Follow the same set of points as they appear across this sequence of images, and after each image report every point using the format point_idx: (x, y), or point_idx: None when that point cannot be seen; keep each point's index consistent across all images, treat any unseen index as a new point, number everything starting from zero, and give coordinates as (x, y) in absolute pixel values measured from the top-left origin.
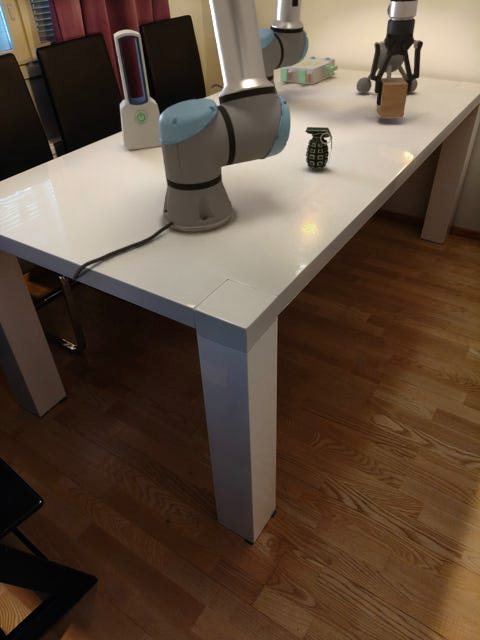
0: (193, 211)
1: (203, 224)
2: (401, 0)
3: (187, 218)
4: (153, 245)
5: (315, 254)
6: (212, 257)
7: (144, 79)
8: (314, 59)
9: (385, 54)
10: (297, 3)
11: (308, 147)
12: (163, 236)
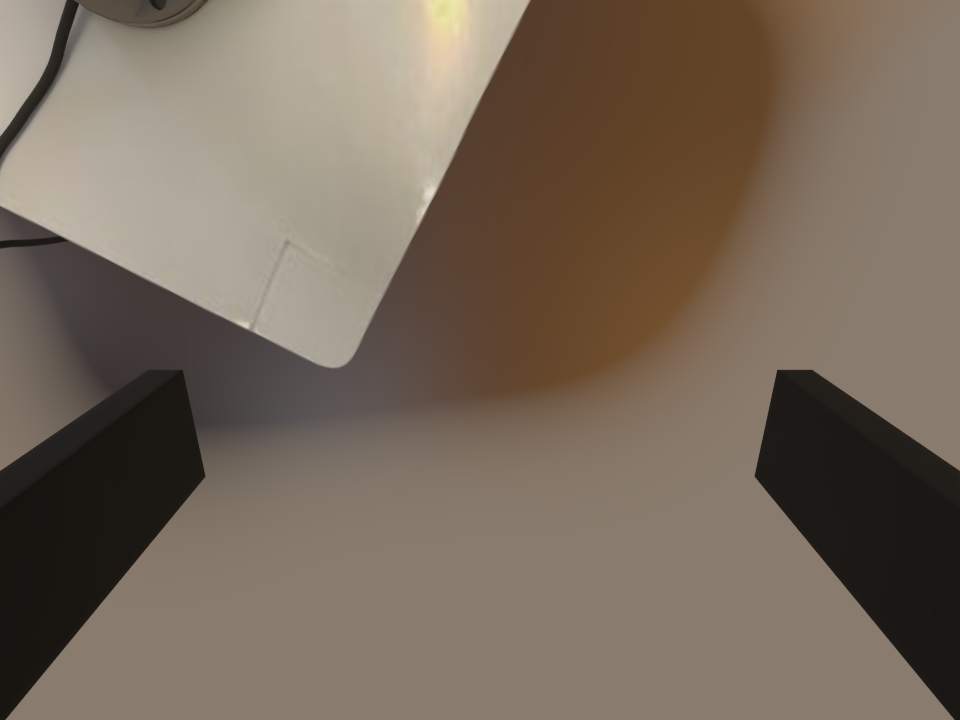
0: (118, 2)
1: (164, 17)
2: (759, 478)
3: (112, 12)
4: (75, 93)
5: (457, 142)
6: (233, 154)
7: None
8: None
9: None
10: (195, 484)
11: None
12: (78, 42)
